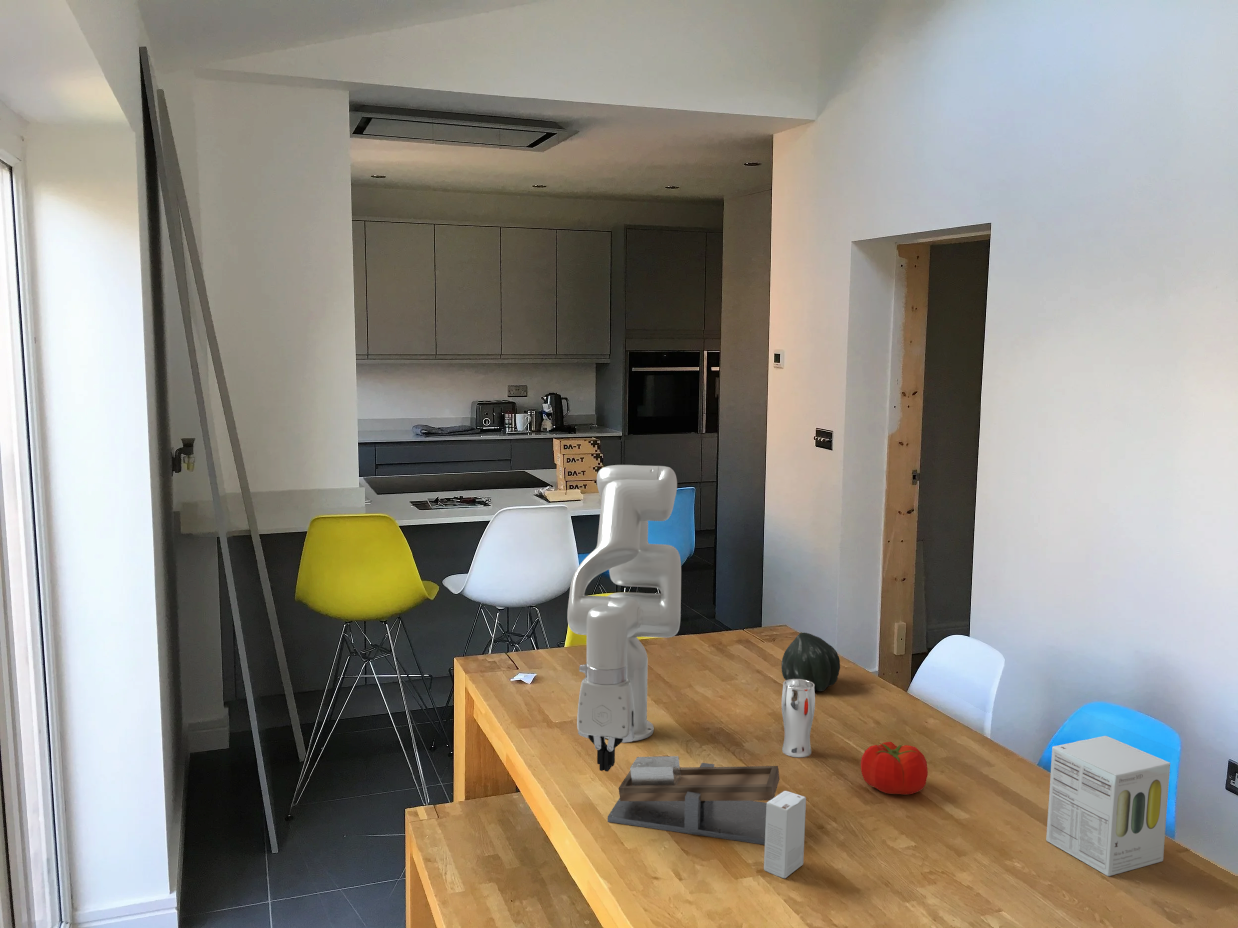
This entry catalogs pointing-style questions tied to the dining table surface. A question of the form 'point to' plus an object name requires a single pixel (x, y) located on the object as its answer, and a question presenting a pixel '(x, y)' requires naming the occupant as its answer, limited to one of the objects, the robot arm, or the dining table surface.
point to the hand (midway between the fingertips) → (605, 767)
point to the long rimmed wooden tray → (709, 785)
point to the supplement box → (1108, 804)
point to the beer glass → (797, 716)
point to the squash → (811, 661)
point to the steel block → (655, 771)
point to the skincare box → (784, 834)
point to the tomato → (894, 768)
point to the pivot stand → (697, 816)
